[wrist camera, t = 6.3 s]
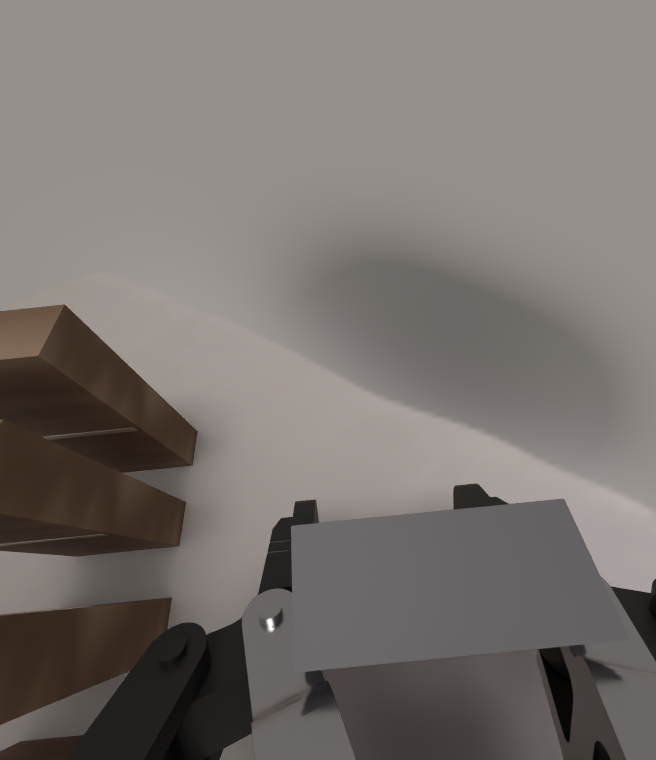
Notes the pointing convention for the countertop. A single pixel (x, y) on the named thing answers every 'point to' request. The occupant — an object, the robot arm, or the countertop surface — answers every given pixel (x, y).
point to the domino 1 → (41, 749)
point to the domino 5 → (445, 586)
